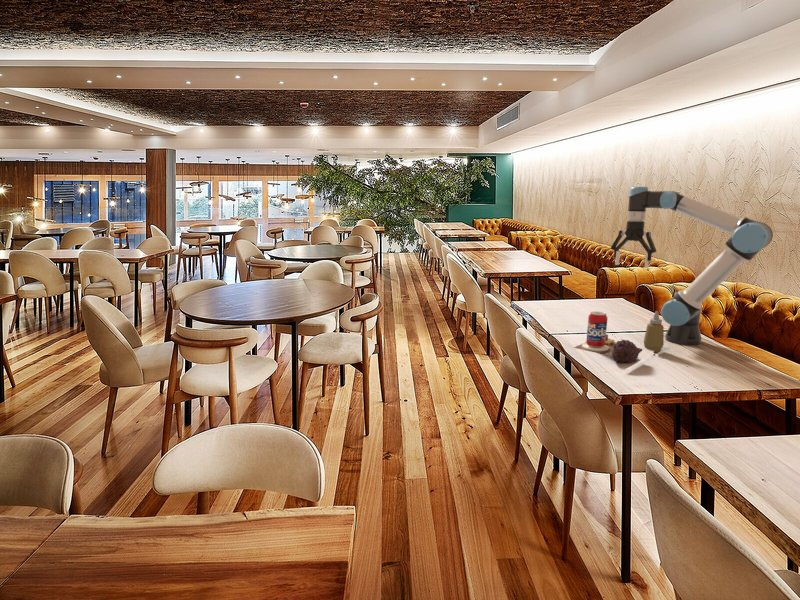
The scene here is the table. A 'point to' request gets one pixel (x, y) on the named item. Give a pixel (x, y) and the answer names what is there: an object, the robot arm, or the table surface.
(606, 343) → the brass gear
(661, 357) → the table surface
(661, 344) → the squeeze bottle
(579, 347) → the gear board
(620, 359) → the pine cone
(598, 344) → the soda can
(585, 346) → the ceramic plate
